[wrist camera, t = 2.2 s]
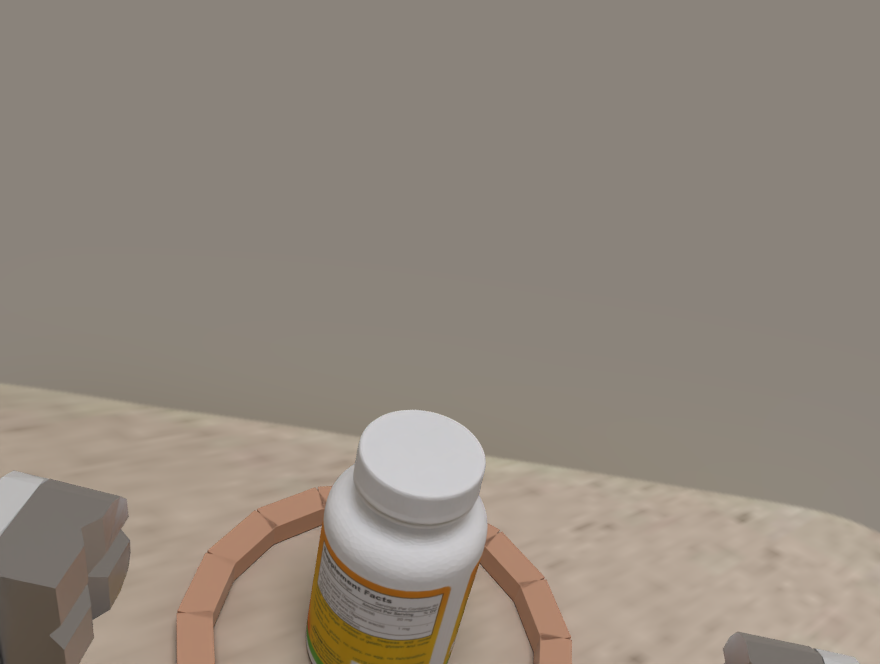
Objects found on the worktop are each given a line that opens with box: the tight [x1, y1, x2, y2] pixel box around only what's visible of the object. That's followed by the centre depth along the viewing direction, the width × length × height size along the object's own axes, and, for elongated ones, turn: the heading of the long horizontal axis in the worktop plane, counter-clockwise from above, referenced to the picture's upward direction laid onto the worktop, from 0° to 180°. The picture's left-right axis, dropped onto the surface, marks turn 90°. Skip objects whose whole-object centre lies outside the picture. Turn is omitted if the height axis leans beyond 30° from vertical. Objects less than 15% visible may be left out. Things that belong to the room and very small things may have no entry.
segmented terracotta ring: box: [176, 486, 572, 664], centre depth 31 cm, size 14×14×1 cm
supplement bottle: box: [306, 410, 488, 664], centre depth 28 cm, size 5×5×10 cm
